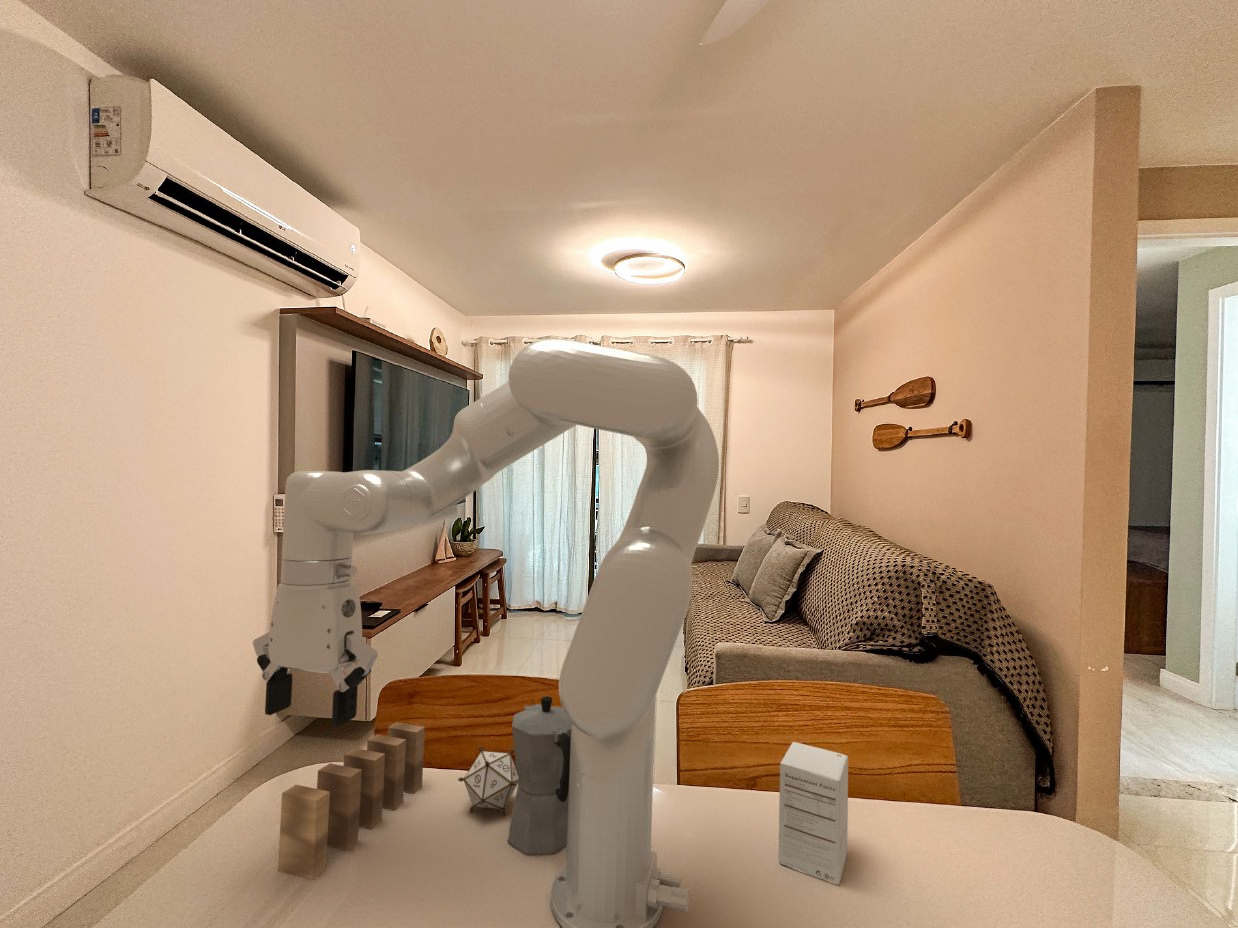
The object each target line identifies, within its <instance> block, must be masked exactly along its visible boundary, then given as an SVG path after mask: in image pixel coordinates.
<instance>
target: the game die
mask: <svg viewBox="0 0 1238 928" xmlns="http://www.w3.org/2000/svg"><path fill="white" fill-rule="evenodd" d="M483 749H484V748H483V746H482V745H480V744H478V751H479V754H478V755H477V757H476V758H475V760H474V762H473V763H472V765H471V766H470V768H469V770H467V773H466V774H465V776H464V777H462V776H461V777H459V778H457V781H459V782H464V786H465V788H466V791H467V793H468V796H469V798H470V801H471V804H472V806H470V807H469V813H471V812H473V811H474V810H475V808H481V809H492V810H501V811H502V814H503V816H507V810H506V808H505V807H506V806H507V804H508V802H509V800H510V799H511V798H512V795H513V794H514V792H515V790H516V789H517V786H518V780H519V776H518V775H517V771H516V763H515V761H514V759H513V755H512V754H513V753H515V751H514V747H512V748H511V749H510V750H509V752H504V751H492V750H491V751H489V750H483Z"/></svg>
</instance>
